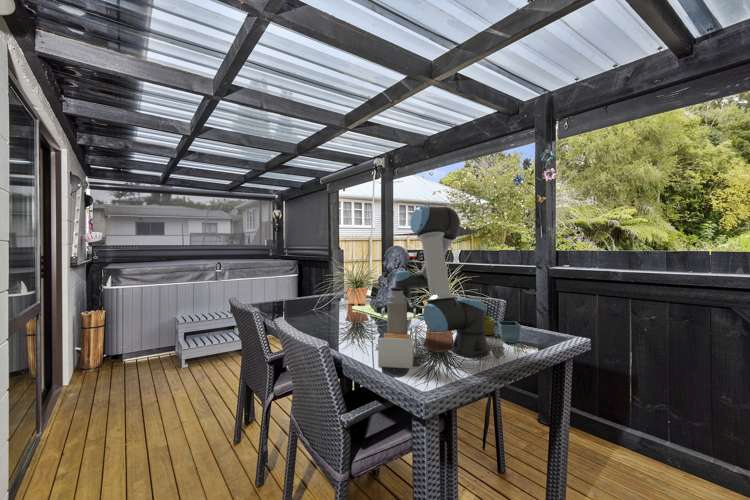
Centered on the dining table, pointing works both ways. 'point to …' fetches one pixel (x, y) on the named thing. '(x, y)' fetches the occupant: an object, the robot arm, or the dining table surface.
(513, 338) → the flower pot
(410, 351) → the white open box
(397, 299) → the thermos bottle
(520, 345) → the dining table surface
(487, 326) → the mug
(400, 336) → the pusher
